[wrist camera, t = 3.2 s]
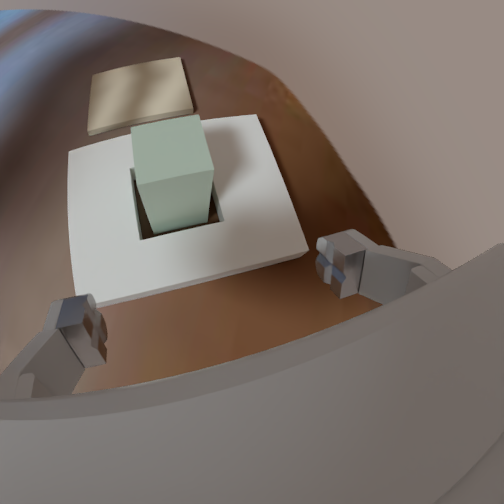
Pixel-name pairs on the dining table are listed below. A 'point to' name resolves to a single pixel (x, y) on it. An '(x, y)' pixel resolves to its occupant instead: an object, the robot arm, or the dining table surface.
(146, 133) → the block
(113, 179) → the holder
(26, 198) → the dining table surface
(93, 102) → the pad
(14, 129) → the dining table surface
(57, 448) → the robot arm
